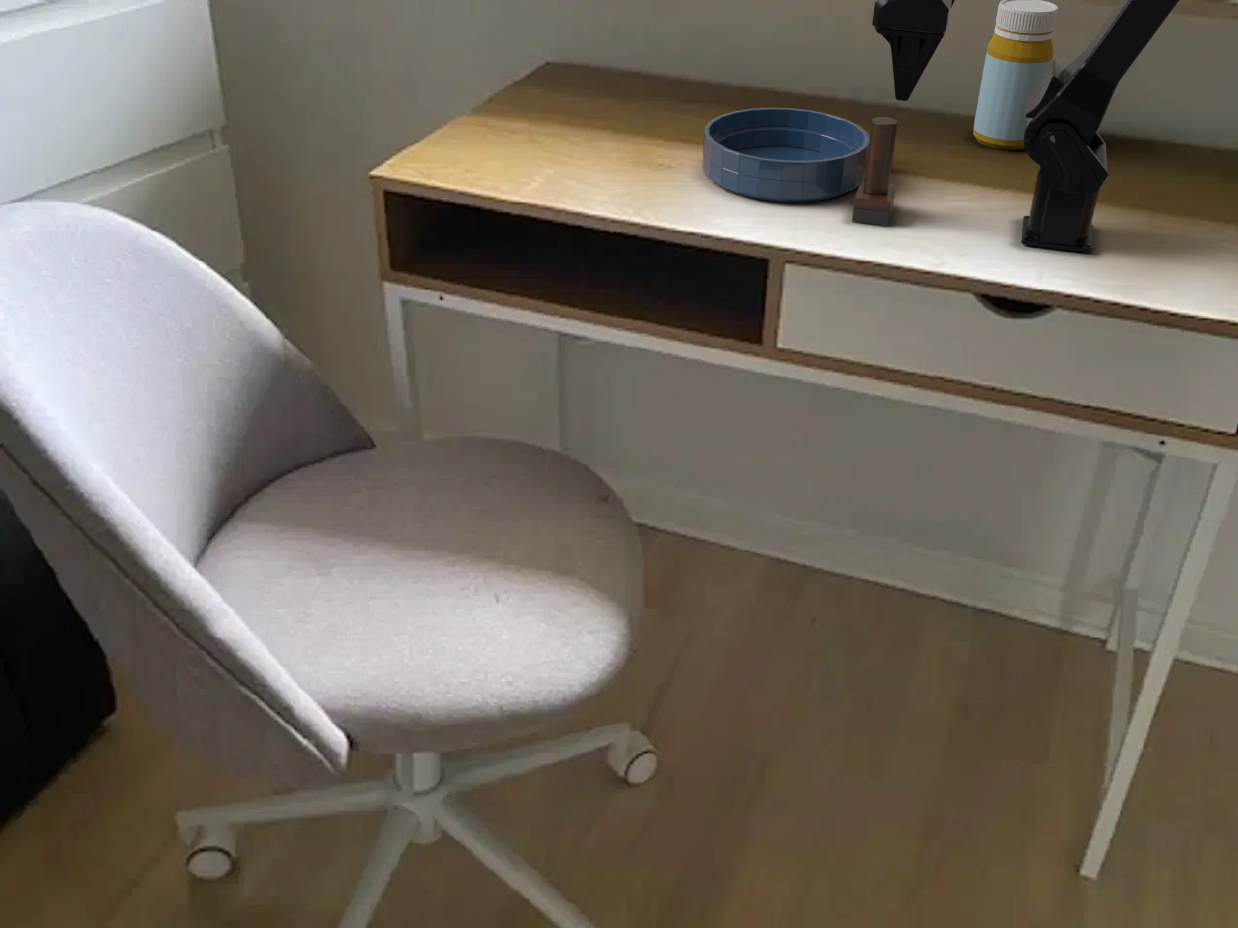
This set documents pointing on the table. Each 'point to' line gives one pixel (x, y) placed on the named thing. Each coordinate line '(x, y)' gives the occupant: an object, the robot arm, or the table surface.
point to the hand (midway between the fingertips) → (906, 85)
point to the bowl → (785, 154)
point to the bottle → (1013, 70)
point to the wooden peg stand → (877, 176)
